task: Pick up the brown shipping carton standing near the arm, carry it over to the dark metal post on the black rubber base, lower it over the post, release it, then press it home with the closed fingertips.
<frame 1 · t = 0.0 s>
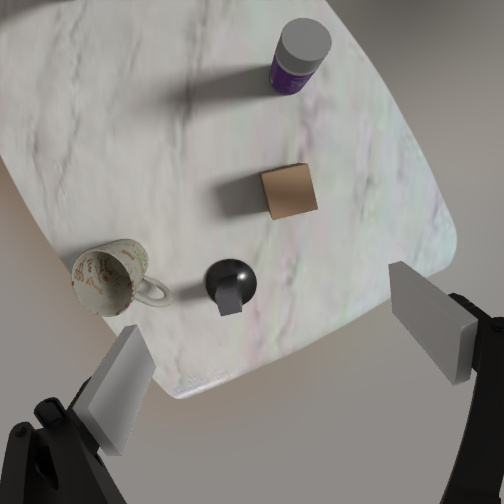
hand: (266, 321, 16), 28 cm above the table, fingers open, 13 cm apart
container: (286, 79, 38), on the table
brown shipping carton: (283, 187, 41), on the table
mug: (142, 264, 44), on the table
post: (231, 283, 45), on the table
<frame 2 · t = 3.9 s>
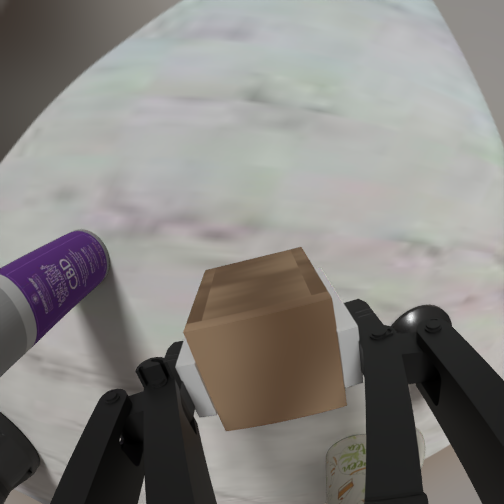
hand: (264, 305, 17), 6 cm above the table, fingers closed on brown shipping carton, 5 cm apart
container: (85, 257, 23), on the table
brown shipping carton: (264, 302, 18), point 6 cm above the table, touching gripper
mug: (363, 438, 29), on the table
post: (417, 340, 25), on the table
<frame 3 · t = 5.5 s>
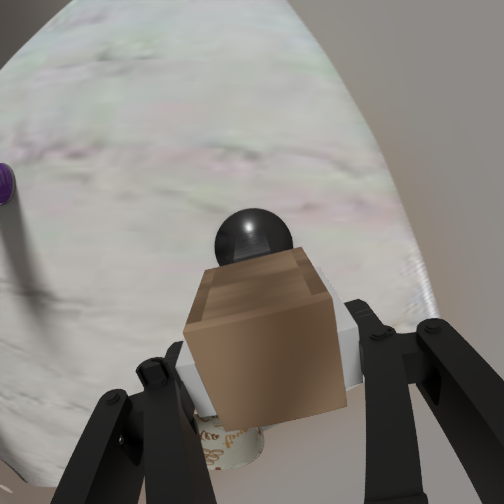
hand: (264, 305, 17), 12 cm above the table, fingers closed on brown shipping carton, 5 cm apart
container: (2, 183, 27), on the table
brown shipping carton: (264, 302, 18), point 12 cm above the table, touching gripper
mug: (229, 362, 33), on the table
post: (253, 246, 29), on the table
when the fingers open (1 cm above the table, at t = 7.4 s): brown shipping carton stays where it is, resting on post.
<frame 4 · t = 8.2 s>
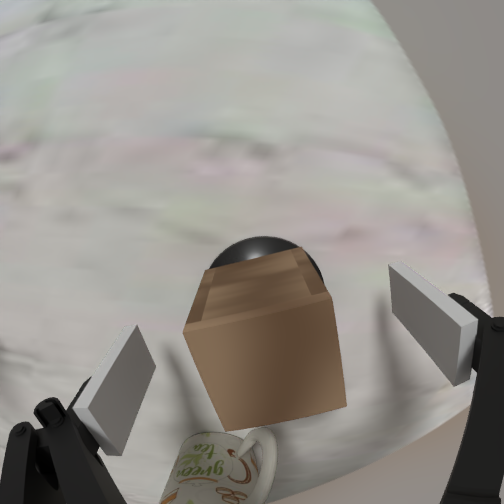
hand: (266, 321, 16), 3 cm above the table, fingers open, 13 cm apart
brown shipping carton: (264, 302, 18), point 1 cm above the table, touching post
mug: (227, 438, 22), on the table
post: (263, 295, 19), on the table
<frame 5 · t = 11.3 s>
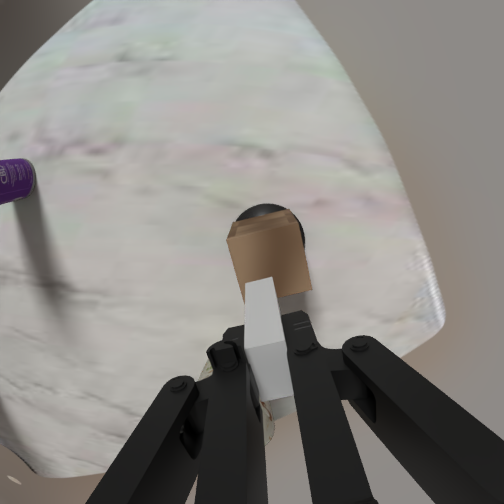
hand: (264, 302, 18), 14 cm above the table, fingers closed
container: (22, 178, 29), on the table
brown shipping carton: (267, 242, 30), point 1 cm above the table, touching post
mug: (241, 352, 35), on the table
post: (267, 240, 31), on the table
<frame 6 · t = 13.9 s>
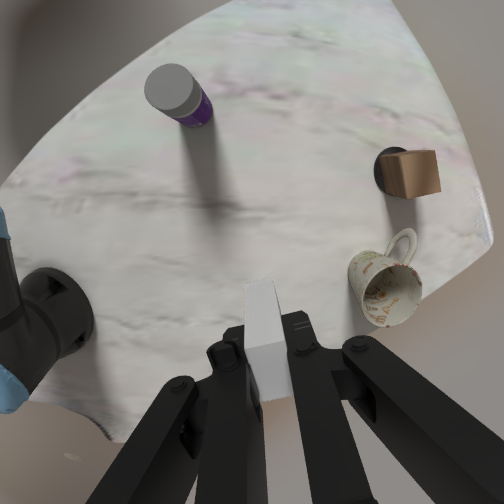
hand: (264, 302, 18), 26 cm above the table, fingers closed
container: (195, 111, 39), on the table
brown shipping carton: (398, 171, 40), point 1 cm above the table, touching post
mug: (373, 257, 45), on the table
post: (395, 171, 41), on the table
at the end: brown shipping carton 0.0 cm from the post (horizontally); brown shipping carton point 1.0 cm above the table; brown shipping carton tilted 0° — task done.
